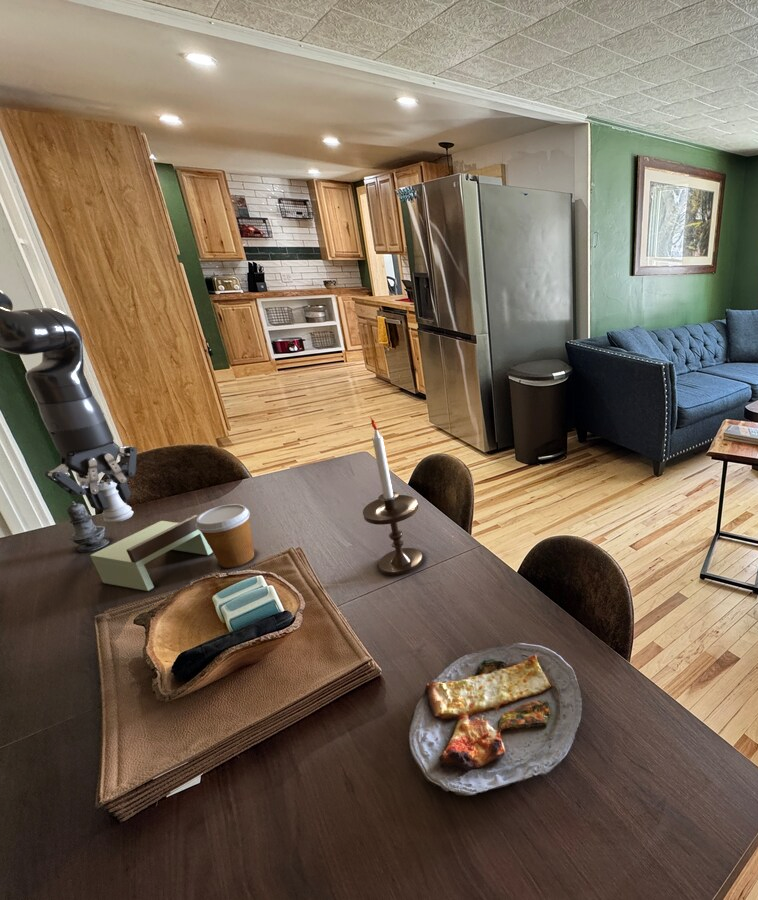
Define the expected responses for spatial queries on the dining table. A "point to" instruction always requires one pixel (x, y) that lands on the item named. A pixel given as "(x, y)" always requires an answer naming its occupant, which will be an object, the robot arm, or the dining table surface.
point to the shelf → (147, 552)
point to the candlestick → (392, 516)
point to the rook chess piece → (113, 503)
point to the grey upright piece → (85, 529)
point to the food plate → (495, 718)
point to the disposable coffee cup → (228, 533)
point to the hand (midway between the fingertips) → (113, 504)
